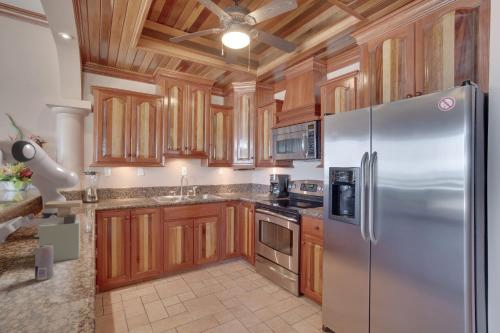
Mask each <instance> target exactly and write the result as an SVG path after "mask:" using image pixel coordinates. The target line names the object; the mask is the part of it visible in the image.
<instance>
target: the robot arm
mask: <svg viewBox="0 0 500 333" xmlns="http://www.w3.org/2000/svg"><path fill="white" fill-rule="evenodd" d="M14 163H15V164H16V163H17V164H18V163H22V164H24V165H25V166H26V167H27V168H28V169H29V170H30V171H31V172H32V174H31V176H30V183H31V184H32V186H33V187H34V188H36V189H37V191H38V192H39V194H40V196H41V200H42V211H41V212H42V213H41V219H43V218H57V208H51V209H44V204H46V203H47V202H54V201H67V199H66V196H64V195H63V194H61V193H60V189H70V188H74V187H76V186H77V185H78V183H79V176H78V174H77V173H76V172H75V171H72V170H69V169H67V168H65V167H63V166H62V165H60V164H59V163H58V162H56V161H55V160H53V158H51V157H50V155H48V153H47V152H46V151H45V150H44V149H43V148H42V147H41V146H40V145H39V144H38V143H36V142H35V141H34V140H32V139H30V138H23V139H18V140H12V139H10V140H9V139H6V140H0V171H1V169H2V165H3V164H14ZM34 218H35V215H34V213H30V214H28V215H27V214H26V215H25V216H24V217H23V216H18V217H15V218H13V219H10V220H8V221H5V222H3V223H0V245H2V244H4V243H5V242H6V239H7V238H8V236H9V235H11V234H12V233H14V232H16V231H17V230H18V229H19V228H21V227H20V226H21V225H22V224H24V223H26V222H28V221H29V219H34ZM17 220H20V221H17ZM16 221H17V222H16ZM14 222H15V223H14ZM40 226H41V225H37V233H36V234H34V235H33V236H34V238H39V227H40Z"/></svg>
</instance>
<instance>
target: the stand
mask: <svg viewBox="0 0 500 333" xmlns="http://www.w3.org/2000/svg"><path fill="white" fill-rule="evenodd" d="M82 204H83V200H82V199H80V200H79V199H77V200H66V201H54V202H47V203H46V204H44V209H51V208H57V217H65V215H69V214H72V208H81V207H82ZM82 245H83V244H82V242H80V252H81V251H82V250H81V249H82Z"/></svg>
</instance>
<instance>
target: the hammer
mask: <svg viewBox="0 0 500 333" xmlns="http://www.w3.org/2000/svg"><path fill="white" fill-rule="evenodd" d="M76 220H77V213H71V214H69V215H65V217H57V218H43V219H42V218H31V219H29V221H28V222H26V223H24V224H22V225H21V226H20V227H19V228H22V227H33V226H34V227H35V226H38V225H48V224H60V223H64V224H72V223H75V222H76ZM17 221H20V220H17ZM17 221H16V222H17ZM14 223H15V222H14Z"/></svg>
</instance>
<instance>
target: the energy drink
mask: <svg viewBox="0 0 500 333" xmlns="http://www.w3.org/2000/svg"><path fill="white" fill-rule="evenodd" d="M34 254H35V255H34V280H35V281H36V282H42V281H43V282H44V281H47V280H50V279H51V278H53V277H54V262H53V245H52V244H44V245H40V246H39V245H37V246H36V247H35V249H34Z"/></svg>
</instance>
